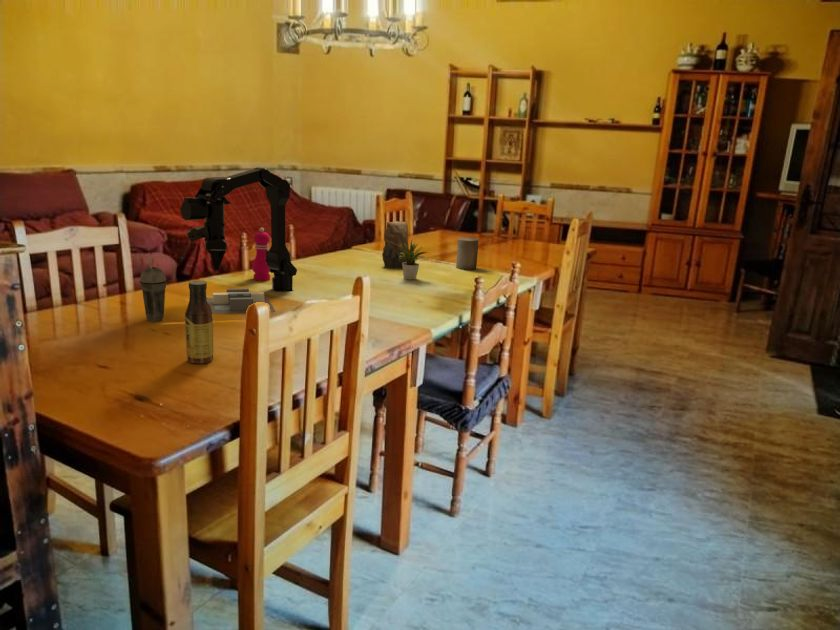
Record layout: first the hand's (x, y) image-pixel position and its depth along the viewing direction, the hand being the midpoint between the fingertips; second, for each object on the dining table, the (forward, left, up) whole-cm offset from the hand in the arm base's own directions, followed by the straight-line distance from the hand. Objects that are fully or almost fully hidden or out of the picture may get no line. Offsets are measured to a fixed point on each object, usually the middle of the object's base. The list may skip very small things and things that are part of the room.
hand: (215, 267), depth 203 cm
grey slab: (-7, +5, -12) cm, 15 cm away
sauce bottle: (+7, +55, -12) cm, 57 cm away
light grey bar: (-7, +2, -11) cm, 13 cm away
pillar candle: (-114, -52, -12) cm, 126 cm away
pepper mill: (-19, -35, -12) cm, 41 cm away
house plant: (-78, -31, -12) cm, 85 cm away
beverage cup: (+18, +17, -12) cm, 28 cm away
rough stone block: (-82, -57, -12) cm, 100 cm away
